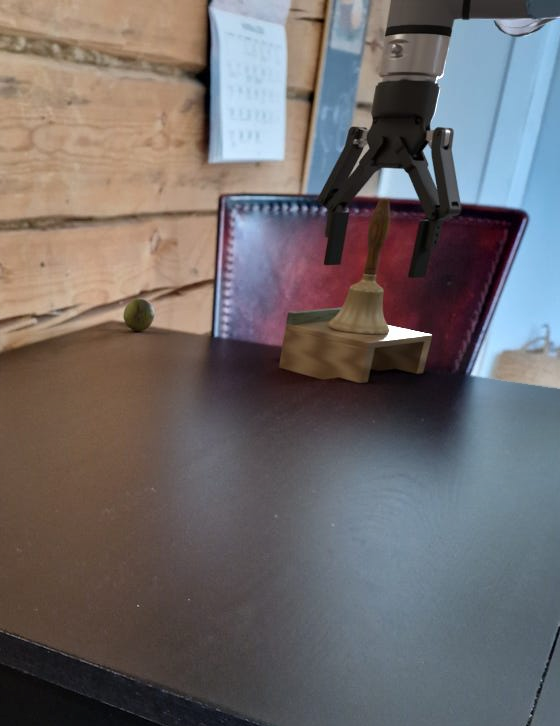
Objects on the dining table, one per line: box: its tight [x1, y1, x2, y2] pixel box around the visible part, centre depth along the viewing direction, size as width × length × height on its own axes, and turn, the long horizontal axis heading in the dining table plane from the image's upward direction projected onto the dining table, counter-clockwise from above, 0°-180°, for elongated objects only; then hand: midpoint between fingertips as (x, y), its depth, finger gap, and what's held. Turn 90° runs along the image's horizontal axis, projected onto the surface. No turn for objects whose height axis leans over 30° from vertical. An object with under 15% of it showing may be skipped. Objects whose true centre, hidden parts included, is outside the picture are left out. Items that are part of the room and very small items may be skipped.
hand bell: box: [328, 198, 391, 335], centre depth 114 cm, size 8×8×16 cm
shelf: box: [278, 306, 433, 384], centre depth 119 cm, size 14×14×8 cm
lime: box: [122, 298, 155, 332], centre depth 139 cm, size 4×5×5 cm
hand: (372, 271), depth 114 cm, fingers open, 13 cm apart
